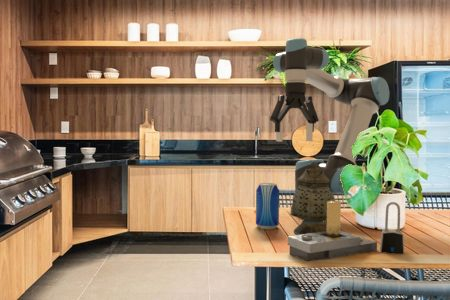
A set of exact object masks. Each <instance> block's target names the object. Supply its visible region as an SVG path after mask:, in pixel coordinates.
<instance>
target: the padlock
mask: <svg viewBox="0 0 450 300" xmlns="http://www.w3.org/2000/svg"><path fill="white" fill-rule="evenodd" d="M392 205H395V206H396V207H397V225H396V226H397V227H396V228H397V229H389V227H388V226H389V207H390V206H392ZM384 220H385V224H384V227H385V228H384V229H382V230H381V235H380V243H379V252H380V253H383V252H386V253H385V254H392V253H395V254H397V255H405V245H404V244H405V242H404V233H403V231H401V206H400V204H399V203H397V202H395V201H391V202H388V203H387V205H386V207H385V219H384Z"/></svg>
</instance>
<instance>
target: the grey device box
mask: <svg viewBox="0 0 450 300" xmlns="http://www.w3.org/2000/svg"><path fill="white" fill-rule="evenodd" d="M287 245H288V246H289V255H291V256H293V257H296V258H298V259H301V260H303V261H305V262H310V261H317V260H321V259H329V260H330V259H335V258H341V257H347V256H352V255H353V256H354V255H358V253H359V254H363V253H364V252H365V253H370V252H374V251H377V250H378V242H377V241H375V240H371V239H369V238H365V237H363V236H361V235H357V234H353V233H349V232H347V231H343V230H340V237H338V238H330V237H327V236H326V231H323V232H316V233H309V234H301V235H296V234H295V235H289V236H288V235H287Z"/></svg>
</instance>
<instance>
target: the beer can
mask: <svg viewBox="0 0 450 300" xmlns="http://www.w3.org/2000/svg"><path fill="white" fill-rule="evenodd" d="M255 194H256V195H255V198H256V199H255V225H256V226H257V228H258V229H261V230H273V229H274V230H275V229H277V228H278V226H279V223H280V189H279V187H278V185H277V183H273V182H260V183H258V186H257V187H256V190H255Z"/></svg>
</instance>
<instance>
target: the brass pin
mask: <svg viewBox="0 0 450 300" xmlns="http://www.w3.org/2000/svg"><path fill="white" fill-rule="evenodd" d="M341 204H342V202H341V201H340V200H339V201H338V200H335V201H327V220H326V236H327V237H330V238H338V237H340V231H341V213H342V212H341V211H342V210H341V207H342V205H341Z"/></svg>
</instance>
